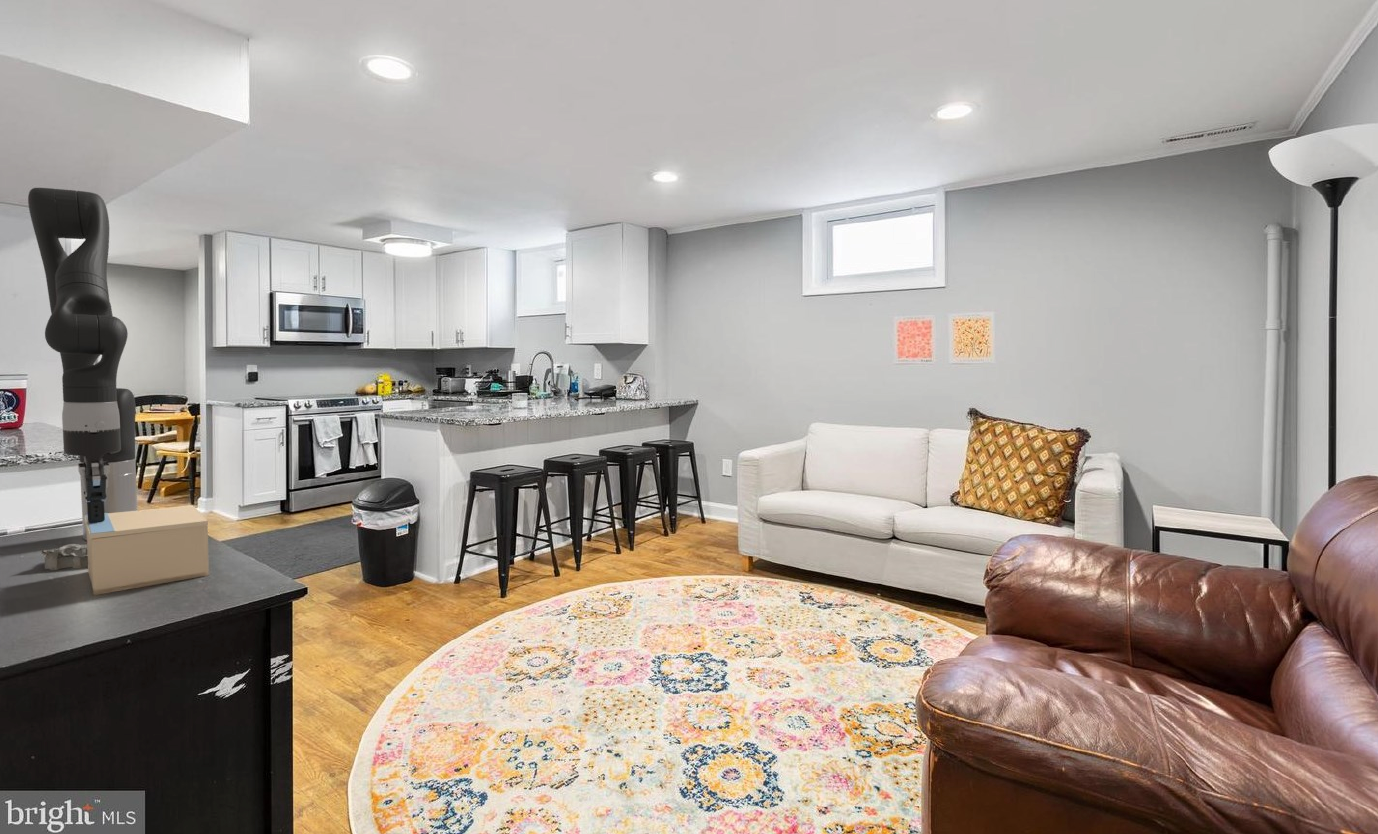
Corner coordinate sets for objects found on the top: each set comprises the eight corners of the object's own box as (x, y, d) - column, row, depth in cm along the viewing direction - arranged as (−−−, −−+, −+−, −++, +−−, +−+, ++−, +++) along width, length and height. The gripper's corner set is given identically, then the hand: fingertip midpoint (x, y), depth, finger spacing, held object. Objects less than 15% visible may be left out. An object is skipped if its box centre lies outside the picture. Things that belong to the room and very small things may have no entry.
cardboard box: (88, 571, 121) (86, 520, 120) (194, 555, 132) (192, 509, 131) (93, 595, 110) (91, 539, 109) (209, 575, 121) (207, 524, 120)
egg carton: (38, 572, 120) (36, 551, 120) (59, 560, 127) (58, 540, 127) (109, 567, 124) (108, 546, 124) (126, 556, 131) (125, 536, 131)
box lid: (84, 519, 120) (84, 515, 120) (192, 508, 132) (192, 504, 131) (89, 538, 109) (89, 533, 108) (207, 524, 120) (207, 520, 120)
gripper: (61, 424, 116) (66, 517, 118) (64, 431, 107) (69, 532, 108) (116, 422, 122) (120, 512, 123) (123, 429, 112) (127, 525, 114)
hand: (96, 521), depth 116 cm, fingers closed
